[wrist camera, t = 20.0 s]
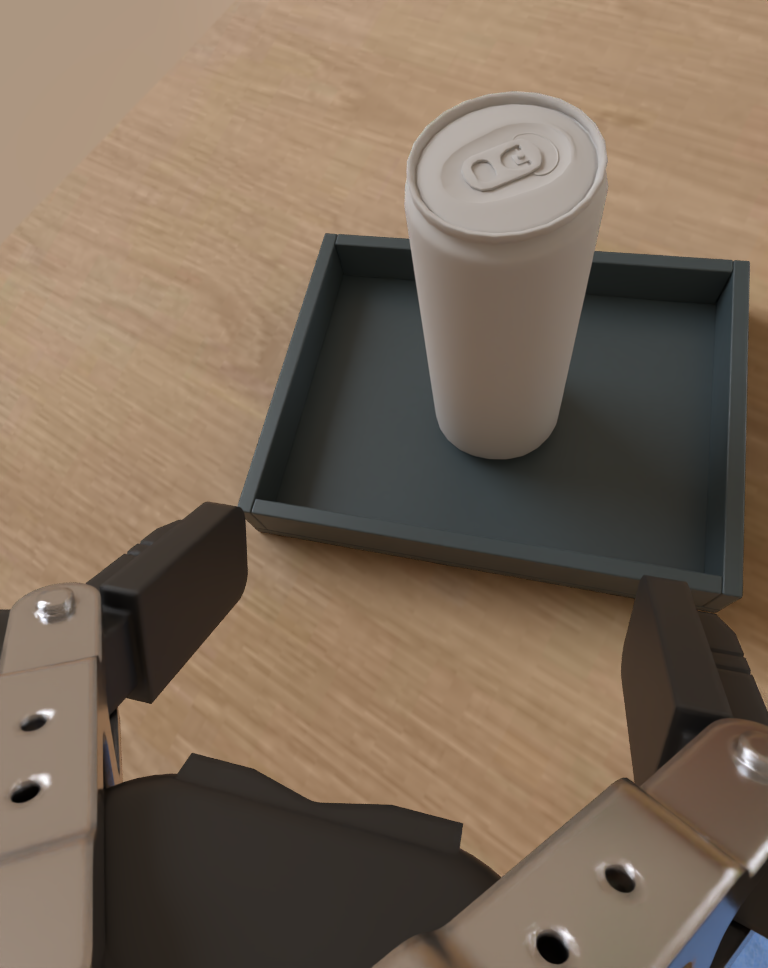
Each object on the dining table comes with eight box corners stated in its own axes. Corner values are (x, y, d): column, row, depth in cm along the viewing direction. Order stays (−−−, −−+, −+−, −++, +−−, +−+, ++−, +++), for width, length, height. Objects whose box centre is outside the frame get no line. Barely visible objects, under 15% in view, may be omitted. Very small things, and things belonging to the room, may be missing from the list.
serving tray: (257, 531, 26) (235, 510, 23) (337, 271, 30) (324, 232, 28) (716, 613, 22) (743, 597, 20) (727, 302, 26) (750, 260, 24)
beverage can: (579, 439, 24) (656, 188, 13) (465, 486, 24) (447, 273, 13) (525, 345, 26) (553, 60, 15) (418, 388, 26) (371, 133, 15)
